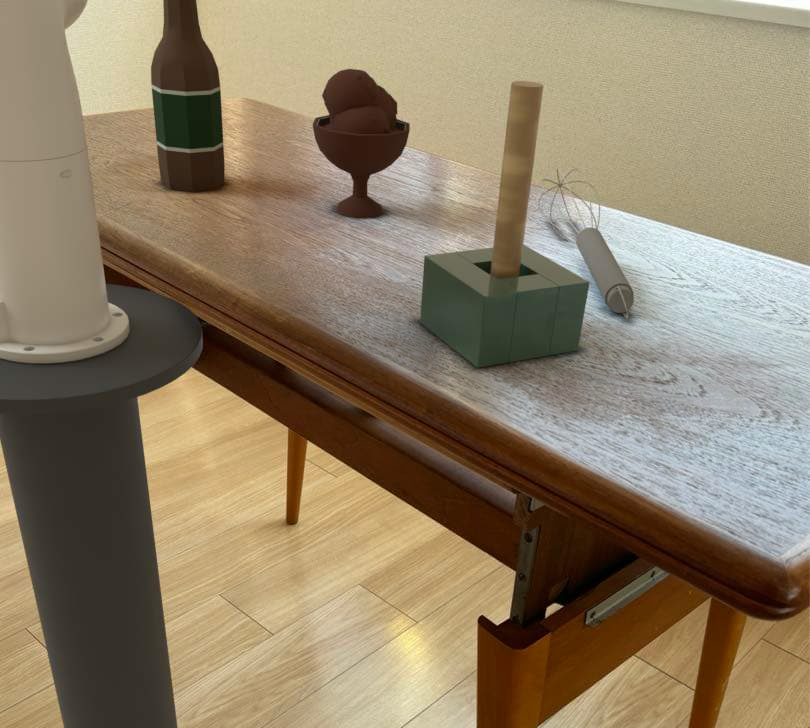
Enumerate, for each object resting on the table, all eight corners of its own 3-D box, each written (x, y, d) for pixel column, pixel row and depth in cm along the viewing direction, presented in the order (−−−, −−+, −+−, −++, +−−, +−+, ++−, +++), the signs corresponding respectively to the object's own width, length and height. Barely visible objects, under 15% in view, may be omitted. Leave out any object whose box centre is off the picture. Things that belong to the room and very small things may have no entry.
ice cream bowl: (389, 230, 104) (396, 81, 95) (297, 215, 106) (295, 69, 98) (418, 205, 112) (427, 67, 103) (332, 192, 115) (333, 56, 106)
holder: (477, 368, 76) (485, 296, 72) (419, 322, 83) (424, 255, 79) (578, 350, 80) (590, 281, 76) (514, 308, 87) (523, 243, 83)
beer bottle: (193, 171, 119) (177, -51, 105) (238, 184, 116) (228, -45, 102) (146, 183, 114) (123, -50, 100) (192, 196, 110) (174, -44, 96)
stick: (492, 343, 80) (522, 87, 68) (478, 332, 82) (505, 81, 70) (516, 339, 81) (549, 86, 69) (501, 329, 83) (532, 80, 71)
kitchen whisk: (592, 323, 85) (604, 254, 81) (529, 214, 112) (536, 159, 109) (658, 325, 85) (673, 256, 82) (579, 216, 113) (588, 161, 109)
